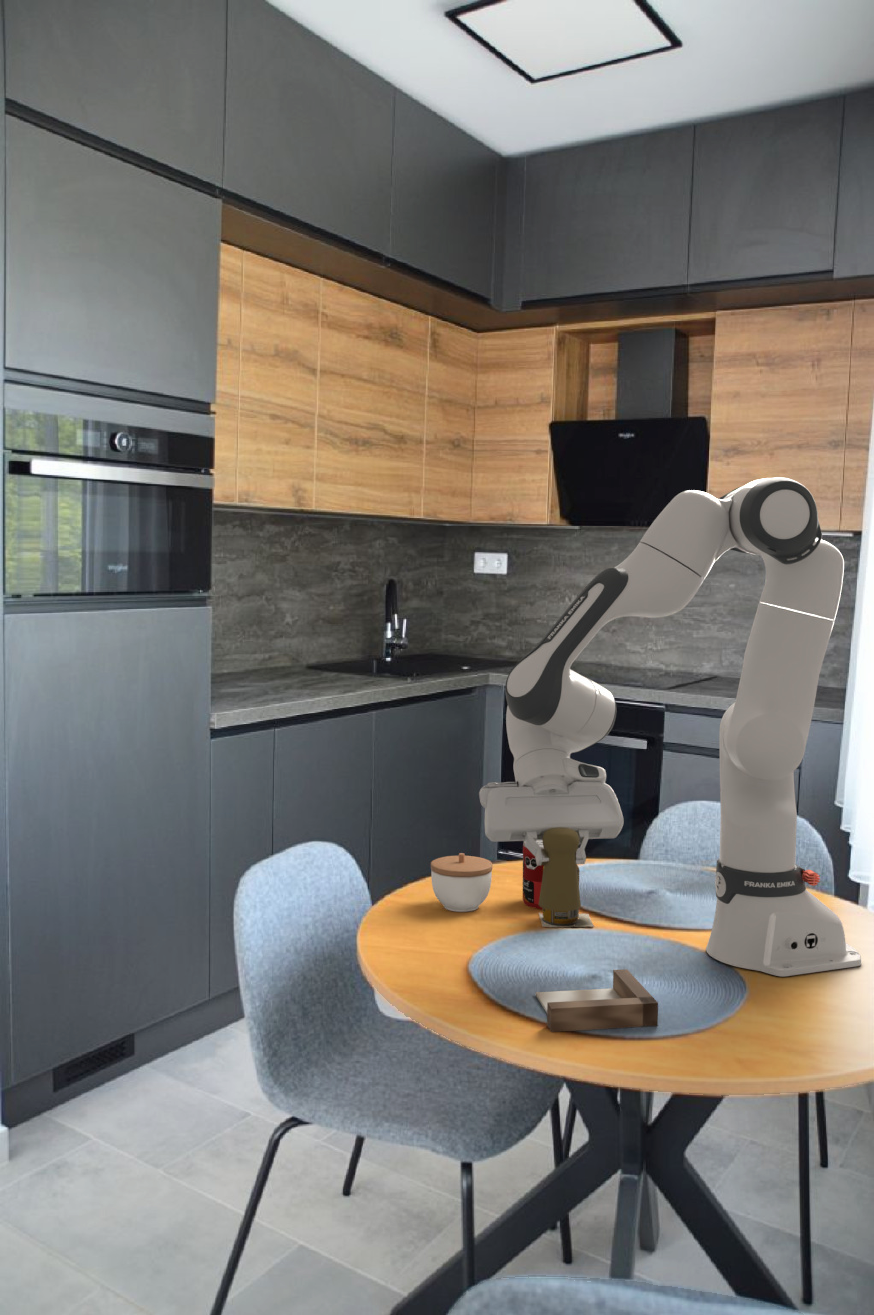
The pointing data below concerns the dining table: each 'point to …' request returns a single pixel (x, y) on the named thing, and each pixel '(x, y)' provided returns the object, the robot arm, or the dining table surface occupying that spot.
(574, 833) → the olive game pawn
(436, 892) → the lidded jar
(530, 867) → the canned food
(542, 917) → the condiment
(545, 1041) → the dining table surface
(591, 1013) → the corner lip
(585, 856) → the robot arm
